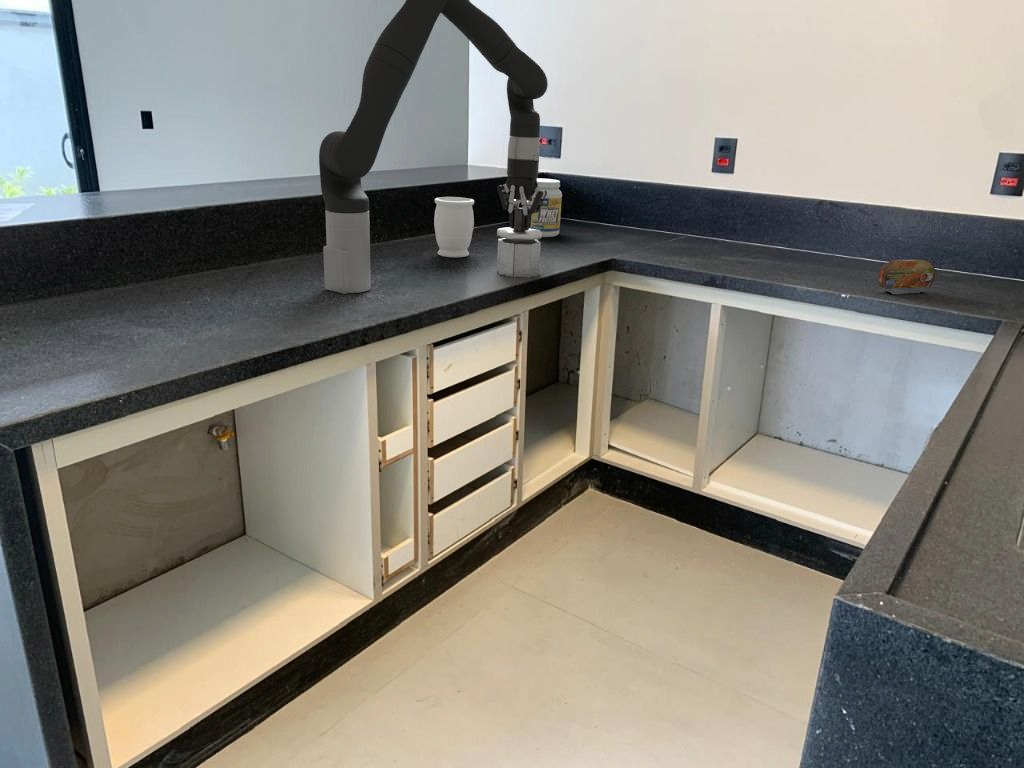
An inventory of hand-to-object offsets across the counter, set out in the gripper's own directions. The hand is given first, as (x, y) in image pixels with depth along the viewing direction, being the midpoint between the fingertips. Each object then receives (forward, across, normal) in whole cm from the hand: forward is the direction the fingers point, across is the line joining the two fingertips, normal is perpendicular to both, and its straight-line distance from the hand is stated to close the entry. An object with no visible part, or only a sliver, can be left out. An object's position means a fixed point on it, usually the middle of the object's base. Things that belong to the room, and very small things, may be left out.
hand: (519, 228), depth 194 cm
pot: (+11, 0, 0) cm, 11 cm away
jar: (+11, -25, +5) cm, 28 cm away
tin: (+11, +80, +54) cm, 97 cm away
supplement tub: (+11, -27, +51) cm, 59 cm away
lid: (+2, 0, 0) cm, 2 cm away
